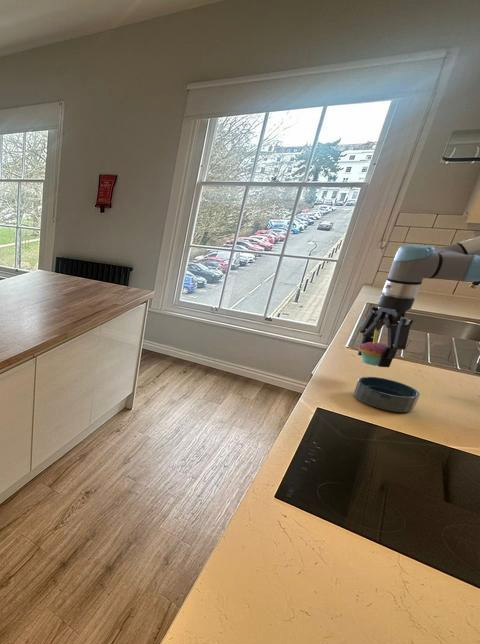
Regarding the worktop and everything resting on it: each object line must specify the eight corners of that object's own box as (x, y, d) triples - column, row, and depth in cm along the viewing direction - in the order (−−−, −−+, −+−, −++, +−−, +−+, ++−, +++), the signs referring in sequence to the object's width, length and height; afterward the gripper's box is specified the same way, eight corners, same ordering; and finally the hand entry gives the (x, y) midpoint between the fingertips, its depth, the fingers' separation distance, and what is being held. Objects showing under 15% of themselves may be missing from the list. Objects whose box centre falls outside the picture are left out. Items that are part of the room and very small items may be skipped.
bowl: (425, 415, 116) (432, 399, 114) (372, 411, 118) (379, 395, 116) (389, 393, 128) (396, 378, 126) (342, 390, 130) (348, 375, 128)
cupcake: (352, 362, 134) (365, 329, 129) (356, 355, 139) (368, 323, 135) (388, 370, 128) (402, 336, 123) (390, 362, 133) (404, 329, 129)
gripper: (360, 286, 135) (338, 347, 143) (412, 304, 116) (384, 374, 124) (386, 287, 134) (363, 349, 142) (443, 305, 114) (412, 375, 123)
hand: (372, 360), depth 133 cm, fingers closed on cupcake, 8 cm apart
